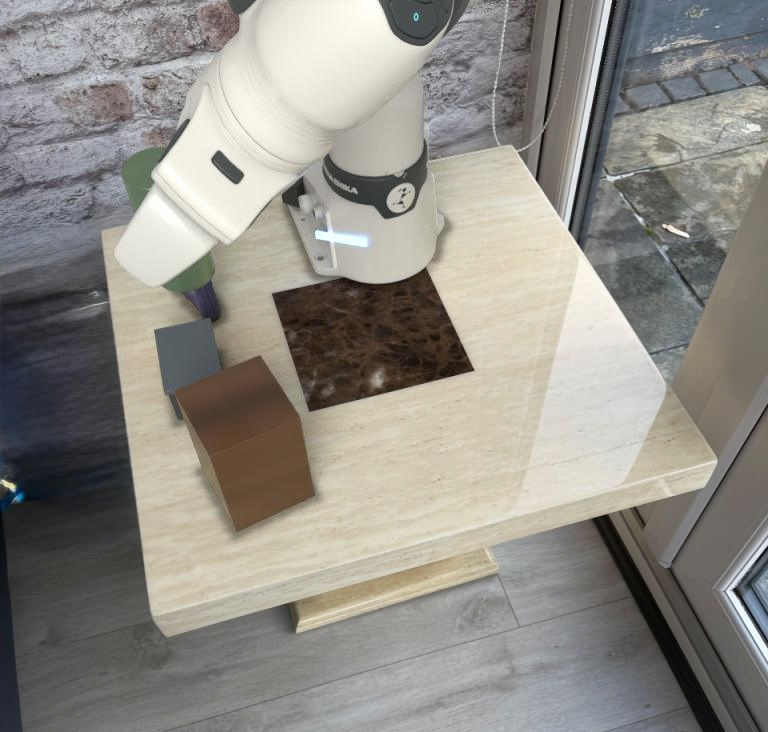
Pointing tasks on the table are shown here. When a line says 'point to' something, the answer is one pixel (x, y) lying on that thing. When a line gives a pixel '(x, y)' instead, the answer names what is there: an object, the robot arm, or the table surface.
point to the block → (247, 441)
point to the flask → (204, 302)
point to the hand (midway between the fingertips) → (162, 217)
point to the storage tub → (186, 356)
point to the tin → (137, 188)
